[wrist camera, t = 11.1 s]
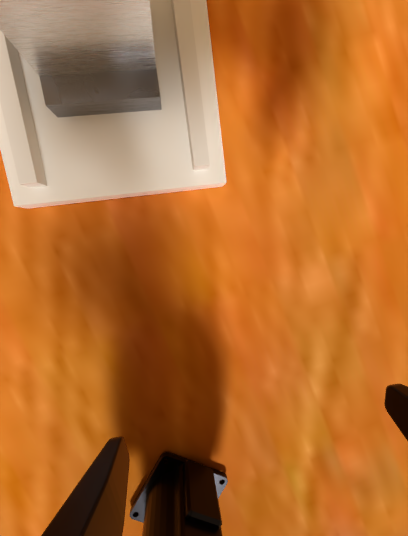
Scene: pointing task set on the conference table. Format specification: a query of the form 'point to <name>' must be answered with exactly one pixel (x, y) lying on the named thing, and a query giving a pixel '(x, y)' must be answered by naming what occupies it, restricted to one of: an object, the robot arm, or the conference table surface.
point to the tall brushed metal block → (87, 53)
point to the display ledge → (118, 125)
